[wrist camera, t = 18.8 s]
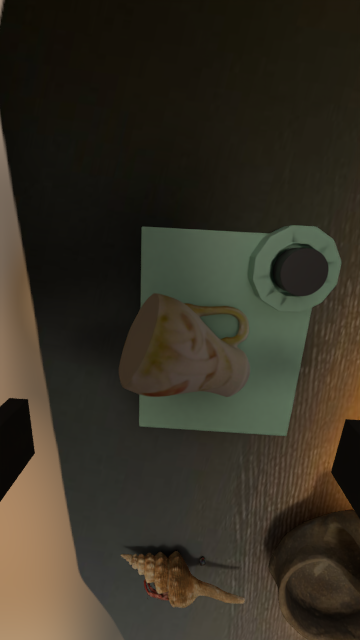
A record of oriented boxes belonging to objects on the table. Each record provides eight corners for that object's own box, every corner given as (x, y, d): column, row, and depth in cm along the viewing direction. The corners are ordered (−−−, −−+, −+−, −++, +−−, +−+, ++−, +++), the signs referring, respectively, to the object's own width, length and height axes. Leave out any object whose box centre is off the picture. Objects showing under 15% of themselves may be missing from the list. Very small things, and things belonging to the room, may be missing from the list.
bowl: (260, 578, 33) (289, 715, 24) (266, 464, 28) (306, 577, 19) (374, 579, 33) (452, 719, 23) (400, 462, 28) (513, 578, 18)
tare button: (276, 246, 19) (284, 246, 18) (320, 248, 19) (333, 249, 17) (269, 290, 20) (276, 295, 18) (312, 293, 20) (323, 297, 18)
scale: (145, 220, 22) (137, 216, 19) (324, 230, 22) (349, 228, 18) (141, 415, 27) (135, 440, 24) (286, 424, 27) (300, 451, 24)
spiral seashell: (130, 573, 34) (122, 622, 30) (122, 545, 32) (113, 593, 28) (239, 567, 33) (247, 617, 29) (236, 539, 31) (244, 586, 27)
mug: (228, 399, 25) (166, 471, 16) (157, 328, 27) (73, 359, 19) (284, 343, 21) (240, 400, 13) (195, 268, 24) (112, 274, 15)
